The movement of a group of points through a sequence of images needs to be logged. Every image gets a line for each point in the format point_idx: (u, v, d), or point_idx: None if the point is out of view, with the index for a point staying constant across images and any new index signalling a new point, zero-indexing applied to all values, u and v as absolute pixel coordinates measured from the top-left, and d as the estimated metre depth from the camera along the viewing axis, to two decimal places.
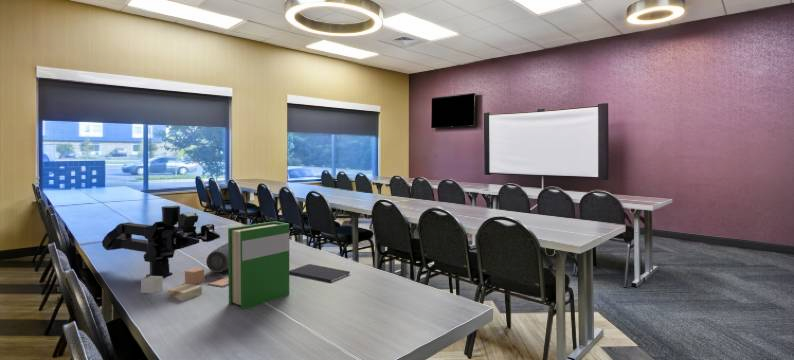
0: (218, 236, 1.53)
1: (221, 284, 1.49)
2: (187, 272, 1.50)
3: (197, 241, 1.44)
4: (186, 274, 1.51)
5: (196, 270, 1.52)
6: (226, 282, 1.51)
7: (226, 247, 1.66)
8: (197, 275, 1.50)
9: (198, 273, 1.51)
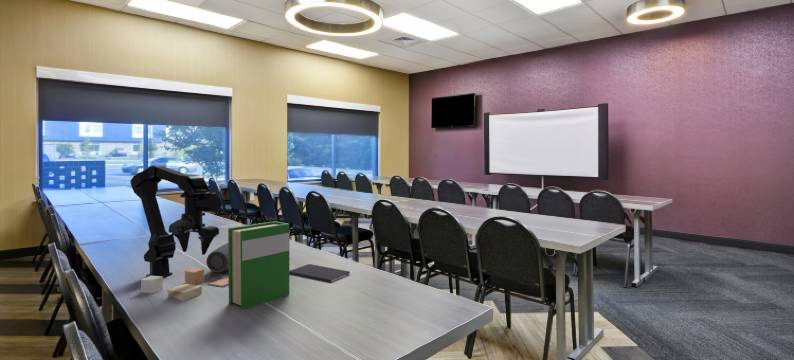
0: None
1: (221, 284, 1.49)
2: (187, 272, 1.50)
3: None
4: (186, 274, 1.51)
5: (196, 270, 1.52)
6: (226, 282, 1.51)
7: (226, 247, 1.66)
8: (197, 275, 1.50)
9: (198, 273, 1.51)
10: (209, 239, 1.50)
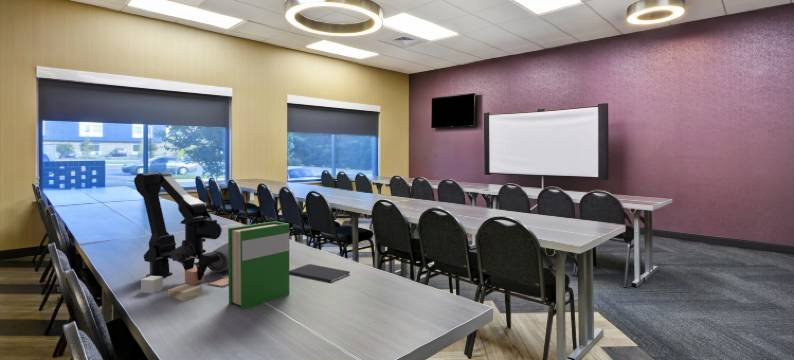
0: None
1: (221, 284, 1.49)
2: (187, 272, 1.50)
3: None
4: (186, 274, 1.51)
5: (196, 270, 1.52)
6: (226, 282, 1.51)
7: (226, 247, 1.66)
8: None
9: None
10: (205, 265, 1.51)
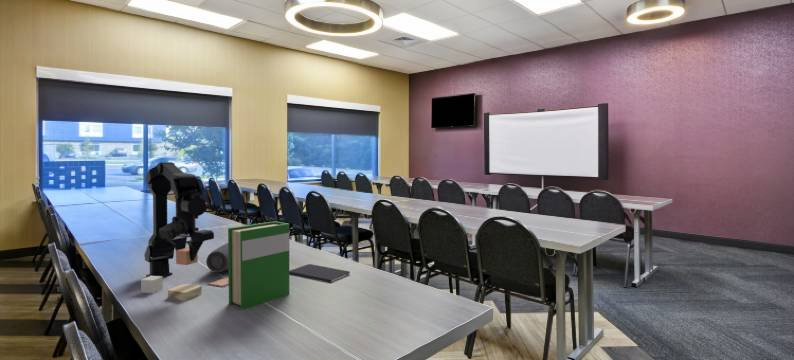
0: None
1: (221, 284, 1.49)
2: (178, 251, 1.37)
3: None
4: (177, 254, 1.37)
5: (188, 249, 1.38)
6: (226, 282, 1.51)
7: (226, 247, 1.66)
8: (189, 255, 1.37)
9: None
10: (198, 244, 1.38)
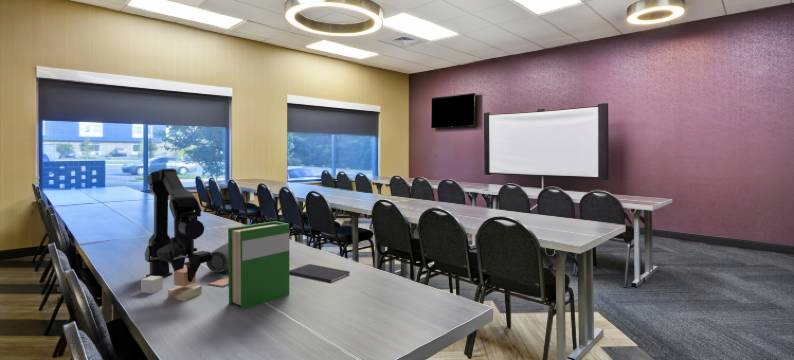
0: None
1: (221, 284, 1.49)
2: (176, 272, 1.36)
3: None
4: (175, 275, 1.36)
5: (186, 270, 1.37)
6: (226, 282, 1.51)
7: (226, 247, 1.66)
8: (187, 276, 1.36)
9: None
10: (196, 265, 1.37)
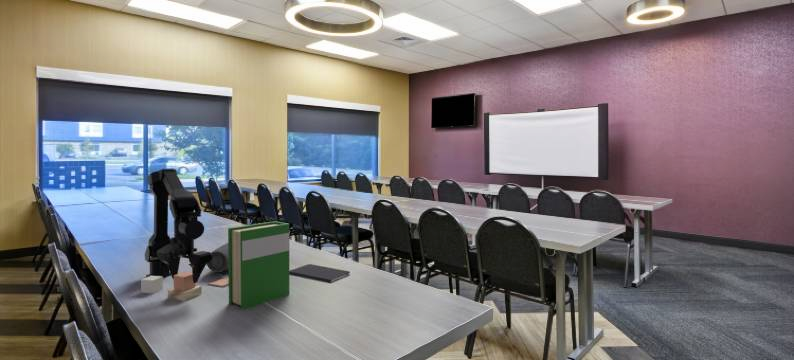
0: None
1: (221, 284, 1.49)
2: (176, 277, 1.36)
3: None
4: (175, 279, 1.36)
5: (186, 274, 1.37)
6: (226, 282, 1.51)
7: (226, 247, 1.66)
8: (187, 280, 1.36)
9: (188, 277, 1.36)
10: (201, 266, 1.36)
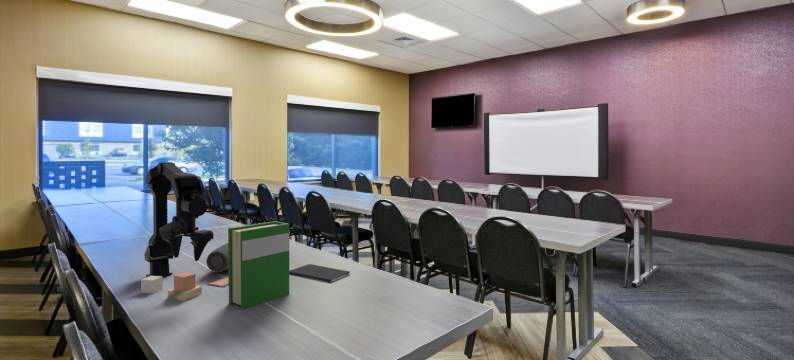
0: None
1: (221, 284, 1.49)
2: (176, 277, 1.36)
3: None
4: (175, 279, 1.36)
5: (186, 275, 1.37)
6: (226, 282, 1.51)
7: (226, 247, 1.66)
8: (186, 280, 1.36)
9: (188, 278, 1.36)
10: (202, 244, 1.37)
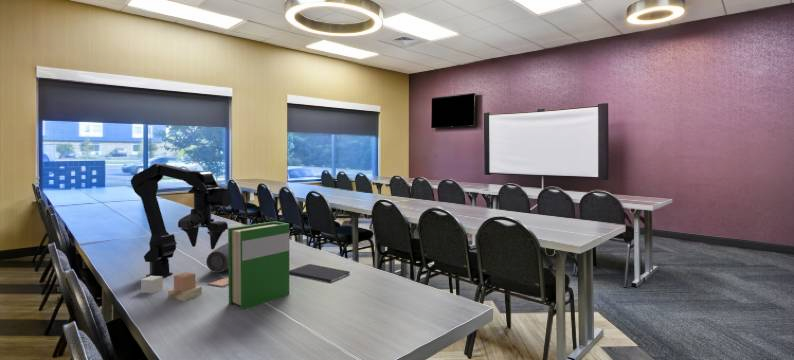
0: None
1: (221, 284, 1.49)
2: (176, 277, 1.36)
3: None
4: (175, 279, 1.36)
5: (186, 275, 1.37)
6: (226, 282, 1.51)
7: (226, 247, 1.66)
8: (186, 281, 1.35)
9: (188, 278, 1.36)
10: (218, 234, 1.52)
